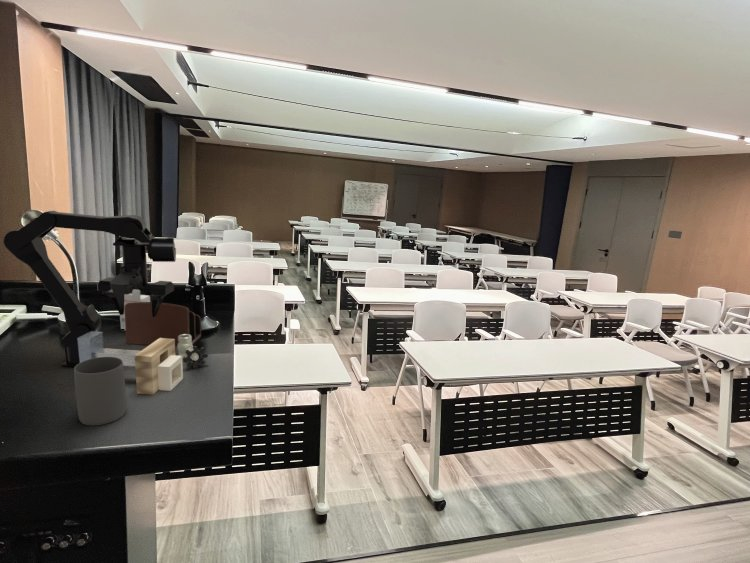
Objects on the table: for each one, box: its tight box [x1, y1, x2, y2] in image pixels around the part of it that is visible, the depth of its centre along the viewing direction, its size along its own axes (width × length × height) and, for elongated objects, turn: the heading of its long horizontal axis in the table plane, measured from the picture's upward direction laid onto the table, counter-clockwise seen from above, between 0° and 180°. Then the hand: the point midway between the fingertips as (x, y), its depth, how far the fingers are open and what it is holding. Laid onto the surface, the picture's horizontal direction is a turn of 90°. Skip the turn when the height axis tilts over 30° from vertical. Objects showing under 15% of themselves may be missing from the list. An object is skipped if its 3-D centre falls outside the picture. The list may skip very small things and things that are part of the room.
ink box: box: [119, 289, 151, 331], centre depth 146 cm, size 9×5×15 cm, turn 81°
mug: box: [73, 357, 127, 426], centre depth 96 cm, size 14×9×12 cm
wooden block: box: [134, 338, 176, 396], centre depth 110 cm, size 4×12×10 cm, turn 179°
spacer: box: [157, 354, 184, 392], centre depth 111 cm, size 3×7×6 cm, turn 179°
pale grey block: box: [78, 331, 141, 367], centre depth 110 cm, size 17×5×9 cm, turn 89°
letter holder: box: [125, 301, 202, 348], centre depth 138 cm, size 10×20×14 cm, turn 91°
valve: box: [176, 334, 209, 370], centre depth 125 cm, size 7×7×12 cm
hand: (138, 315), depth 122 cm, fingers open, 9 cm apart
